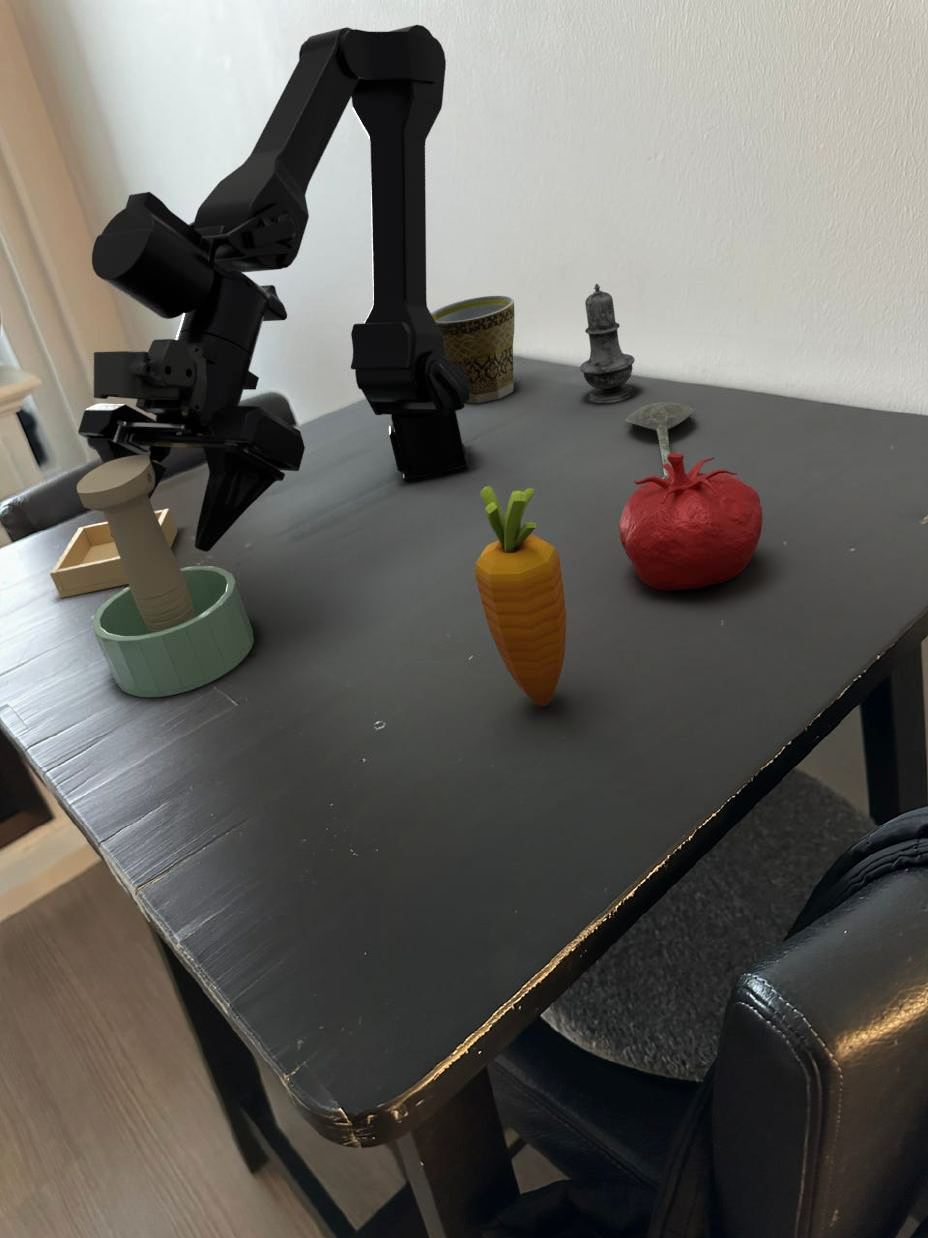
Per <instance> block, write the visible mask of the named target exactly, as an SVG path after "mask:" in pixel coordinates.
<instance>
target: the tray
mask: <svg viewBox="0 0 928 1238" xmlns="http://www.w3.org/2000/svg"><path fill="white" fill-rule="evenodd" d="M154 512H155V515H156V517H157V519H158V521H159V524H160V526H161V528H162V530H163V533H164V535H165V537H166V539H167V542H168V544H169V546H170V548H171V549H172V546H173V544H174V541H175V539H176V537H177V534H178V529H177V526H176V523H175V521H174V518H173V514H172V513H171V510H170V508H164V509H160V510H159V509H158V510H154ZM49 575H50V577H51V579H52V581H53V584H54V586H55V588H56V591H57V592H58V595H59V597H60V599H63V598H64V599H65V598H68V597H74V596H77V595H83V594H87V593H92V592H97V591H101V590H107V589H111V588H115V587H121V586H125V585H129V584H128V581H127V578H126V575H125V572H124V569H123V566H122V563H121V560H120V557H119V554H118V551H117V548H116V545H115V542H114V539H113V538H112V536H111V531H110V528H109V525H108V522H107V521H104V522H99V523H94V524H88V525H85V526H80V527H78V529H77V530H76V532H75V534H74V535H73V536H72V538H71V540H70V541H69V543H68V544H67V546H66V548H65V549H64V551H63V552H62V554H61V555H60V557H59V559H58V560H57V562H56V563H55V565H54V567H53V568H52V570H51V571H50V573H49Z"/></svg>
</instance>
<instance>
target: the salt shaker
mask: <svg viewBox="0 0 928 1238" xmlns="http://www.w3.org/2000/svg"><path fill="white" fill-rule="evenodd" d="M593 289H594V292H593V293H591V294H590V295H588V297H586V298H585V301H584V303H585V304H584V306H585V311H586V320H587V328H585V330H584V332H585V333H586V334H587V335H588V339H589V347H590V354H589V359H587V360H585V361H584V362H582V363H581V365H580V366H579V371H581V372H582V373H583V378H584V379H585V381H586V382H587V384H588V385H590V386H591V388H593V390H591V391H590V392H589V393H588V395H587V396H586V400H587V401H588V402H589V403H590V404H591V403H592V404H596V405H605V404H606V405H607V404H608V405H609V404H614V403H619V402H622V401H625V400H628V399H630V398H632V397H633V396H634V395H635V394H636V392H637V391H636V388H635V387H634V386H631V385H630V384H627V382H628V381H629V380H630V378H631V376H632V372H633V364H634V363H635V361H636V359H635V357H634V356H633V355H631V354H628V353H624V352H623V351H622V348H621V346H620V341H619V333H618V329H619V328H620V327H621V326H620V323H619V322H616V317H615V316H616V315H615V308H614V307H615V306H614V299H613V296H612V295H611V294H610V293H609V292H605V291H603V290H601V286H600V285H599V284H598V283H595V285H594V287H593Z"/></svg>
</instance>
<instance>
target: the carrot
mask: <svg viewBox="0 0 928 1238" xmlns="http://www.w3.org/2000/svg"><path fill="white" fill-rule="evenodd" d="M535 492H536V489H534V488H533V487H532V488H531V487H527V489H525V490H524V491H522V490H519V489H518V490H514V491H511V495H510V497H509V500H508V504H507V508H506V512H505V516H504V513H503V511H502V508H501V505H500V501H499V499H498V497H497V495H496V493H495V491H494V489H493V488H492V487H491V485H488V486H487V485H486V486H484V487H483V489H482V490H481V491H480V492H479V493H480V496H481V498H482V501H483V502H484V504H485V506H486V507H485V514H486V517H487V520H488V523H489V526H490V527H491V529H492V531H493V533H494V534H495V536H496V537H497V540H496V541H493V542H492V543H489V544H487V545H486V547H485V548H484V550H483V551H482V553H481V555H480V556H479V558H478V559H477V561H476V563H475V565H474V574H475V575H474V576H475V580H476V584H477V589H478V592H479V596H480V600H481V604H482V608H483V612H484V615H485V618H486V622H487V626H488V629H489V632H490V634H491V637H492V639H493V642H494V644H495V647H496V649H497V651H498V653H499V655H500V657H501V659H502V661H503V664H504V665H505V668H506V670H507V671H508V672H509V674H510V675H511V677H512V679H513V680H514V681H515V682H516V684H517V685H518V687H519V688H520V689H521V690H522V691H523V692H524V694H526V695H527V697H528V698H529V699H530V700H531V701H532V703H534V704H535V705H537V706H539V707H542V708H545V707H547V706H548V705H549V704H550V703H551V702H552V699H553V698H554V697H553V696H554V694H555V692H556V688H557V686H558V683H559V681H560V677H561V673H562V670H563V664H564V661H565V652H566V640H567V639H566V637H567V636H566V635H567V611H566V610H567V609H566V600H565V590H564V589H565V588H564V582H563V575H562V568H561V561H560V556H559V552H558V551H557V548H556V547H555V546H553V545H551V544H550V543H549V542H547V541H545V540H543V539H542V538H541V537H538V536H536V535H535V534H532V533H533V532H534V531H535V530H536V528H537V523H535V522H534V521H533V522H532V521H529V522H525V523H524V524H523V525H522V519H523V516H524V513H525V511H526V508H527V506H528V503H529V502H530V500H531V499H532V498H533V496H534V494H535Z"/></svg>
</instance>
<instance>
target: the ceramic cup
mask: <svg viewBox="0 0 928 1238" xmlns="http://www.w3.org/2000/svg"><path fill="white" fill-rule="evenodd" d="M430 313H431V315H432V317H433V318H434V320H435V322H436V324H437V325H438V327H439V329H440V331H441V333H442V334H443V338H444V348H445V358H446V359H447V360H449V361H450V362H451V363H452V364H453V365H455V366H456V367H457V368H458V369H459V370H461V371H462V372H463V373H464V374H465V375H467V376H468V377H469V400H468V401H466V402H465V403H470V404H480V403H481V404H482V403H487V402H491V401H492V402H493V401H497V400H500V399H502V398H505V397H506V396H507V395H509V394H511V393H513V392H514V381H515V379H514V338H515V318H516V317H515V314H516V313H515V300H514V298H512V297H510V296H506V295H485V296H479V297H478V296H477V297H473V298H467V299H463V300H460V301H456V302H452V303H449V304H447V305H444V306H442V307H439V308H437V309H435V310H433V311H432V312H430Z"/></svg>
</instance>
